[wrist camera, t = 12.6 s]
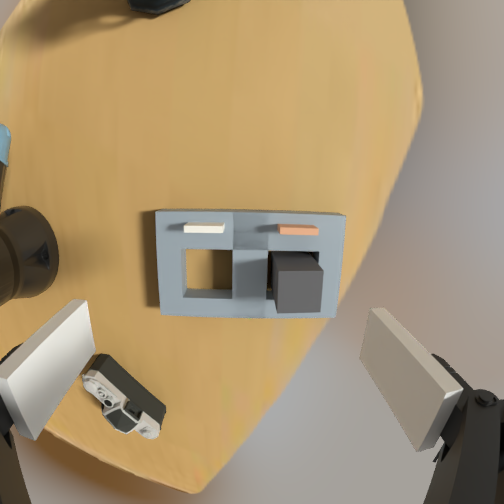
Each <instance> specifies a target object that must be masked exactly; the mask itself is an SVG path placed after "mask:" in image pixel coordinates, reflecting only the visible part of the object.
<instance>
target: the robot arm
mask: <svg viewBox="0 0 504 504" xmlns="http://www.w3.org/2000/svg"><path fill="white" fill-rule="evenodd" d="M10 143H11V133H10V131H9V129H8V128H7V127H6V126H5V125H3V124H1V123H0V207H1V199H2V192H3V185H4V179H5V173H6V168H7V167H8V161H7V160H8V154H9V149H10ZM58 264H59V253H58V246H57V241H56V238H55V235H54V232H53V230H52V228H51V226H50V224H49V223H48V221H47V220H46V219H45V217H44V216H43V215H42V214H41V213H40V212H38V211H37V210H36V209H34V208H32V207H29V206H18V207H13V208H10V209H7V210H6V211H4V212H3V213H1V214H0V306H1V305H3V304H4V303H6V302H7V301H9V300H11V299H18V298H30V297H34V296H37V295H39V294H41V293H42V292H44V291H45V290H47V289H48V288H49V287H50V286H51V285H52V283H53V281H54V279H55V277H56V274H57V271H58ZM95 351H96V349H95V344H94V339H93V334H92V329H91V323H90V318H89V312H88V305H87V300H79V299H73V300H72V301H70V302H69V303H68V304H67V305H66V306H65V307H63V308H62V309H61V310H60V311H59V312H58V313H56V314H55V315H54V316H53V317H52V318H51V319H50V320H48V321H47V322H46V323H45V324H44V325H43V326H42V327H41V328H39V329H38V330H37V331H36V332H35V333H34V334H33V335H32V336H31V337H30V338H28V339H27V340H26V341H25V342H24V343H22V344H20V345H18V346H16V347H14V348H13V349H12V350H11V351H10V352H8V353H7V356H6V355H5V356H4V357H3V358H2V359H1V361H0V504H31V501H30V498H29V495H28V492H27V489H26V485H25V482H24V479H23V475H22V472H21V468H20V464H19V460H18V456H17V452H16V448H15V443H14V438H13V435H12V433H11V431H10V428H11V426H12V425H13V424H14V425H15V427H16V429H17V430H18V432H19V434H20V435H22V436H24V437H27V438H29V439H32V440H36V439H37V437H38V436H39V434H40V433H41V431H42V429H43V428H44V426H45V425H46V423H47V421H48V420H49V418H50V417H51V415H52V414H53V412H54V411H55V409H56V408H57V406H58V405H59V403H60V402H61V400H62V399H63V397H64V396H65V394H66V393H67V391H68V390H69V388H70V387H71V385H72V384H73V382H74V381H75V379H76V378H77V377H78V375H79V374H80V372H81V371H82V369H83V368H84V367H85V365H86V364H87V362H88V361H89V360H90V358H91V357H92V355H93V354H94V353H95ZM360 360H361V361H362V363H363V365H364V366H365V368H366V369H367V371H368V372H369V374H370V375H371V377H372V379H373V381H374V382H375V384H376V385H377V387H378V389H379V390H380V392H381V394H382V395H383V397H384V399H385V400H386V402H387V403H388V405H389V407H390V408H391V410H392V412H393V413H394V415H395V416H396V418H397V420H398V421H399V423H400V425H401V426H402V428H403V430H404V431H405V433H406V435H407V437H408V438H409V440H410V442H411V443H412V445H413V447H414V449H415V450H416V452H419V451H423V450H426V449H429V448H433V447H434V446H435V444H436V442H437V440H438V439H439V437H440V436H441V437H442V439H443V440H444V444H443V446H442V447H441V449H440V451H439V452H438V454H437V456H436V457H435V459H434V460H433V462H436V460H437V459H438V461H437V464H436V468H435V471H434V474H433V478H432V480H431V484H430V486H429V490H428V492H427V495H426V498H425V500H424V503H423V504H504V400H499V399H498V398H497V397H496V396H495V395H494V394H493V393H491V392H490V391H487V390H482V389H478V390H473V389H472V388H471V387H470V386H469V385H468V384H467V383H466V382H465V381H464V380H463V378H462V377H461V376H460V375H459V374H458V373H456V372H455V370H454V369H453V368H450V365H449V364H448V363H447V362H446V361H445V360H444V359H442V358H441V357H439V356H437V355H435V354H430V353H429V352H428V351H427V350H426V349H425V348H424V347H423V346H422V345H421V344H420V343H419V342H418V341H417V340H416V339H415V338H414V337H413V336H412V335H411V334H410V333H409V332H408V331H407V330H406V329H405V328H404V327H403V326H402V325H401V324H400V323H399V322H398V321H397V320H396V319H395V318H394V317H393V316H392V315H391V314H390V313H389V312H388V311H387V310H386V309H385V308H370V309H369V315H368V320H367V325H366V330H365V335H364V340H363V344H362V349H361V353H360Z"/></svg>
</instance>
